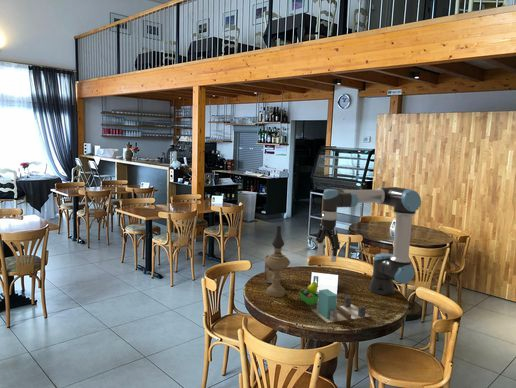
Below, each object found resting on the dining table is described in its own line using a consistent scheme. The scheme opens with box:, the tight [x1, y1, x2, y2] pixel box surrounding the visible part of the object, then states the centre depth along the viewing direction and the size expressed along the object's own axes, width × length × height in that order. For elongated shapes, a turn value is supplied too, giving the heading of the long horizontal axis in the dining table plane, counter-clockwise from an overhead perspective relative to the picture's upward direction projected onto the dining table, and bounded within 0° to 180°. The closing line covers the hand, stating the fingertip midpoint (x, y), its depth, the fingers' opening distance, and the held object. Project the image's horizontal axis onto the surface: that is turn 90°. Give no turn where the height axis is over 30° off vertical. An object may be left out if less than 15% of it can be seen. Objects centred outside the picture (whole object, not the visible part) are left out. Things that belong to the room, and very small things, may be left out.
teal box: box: [318, 288, 338, 319], centre depth 209 cm, size 5×9×12 cm, turn 22°
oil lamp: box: [264, 225, 291, 298], centre depth 236 cm, size 15×15×40 cm
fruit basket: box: [298, 281, 319, 306], centre depth 227 cm, size 11×9×11 cm
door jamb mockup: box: [311, 296, 371, 324], centre depth 213 cm, size 26×16×6 cm, turn 112°
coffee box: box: [263, 254, 281, 284], centre depth 257 cm, size 9×6×16 cm
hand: (326, 258), depth 216 cm, fingers open, 13 cm apart
